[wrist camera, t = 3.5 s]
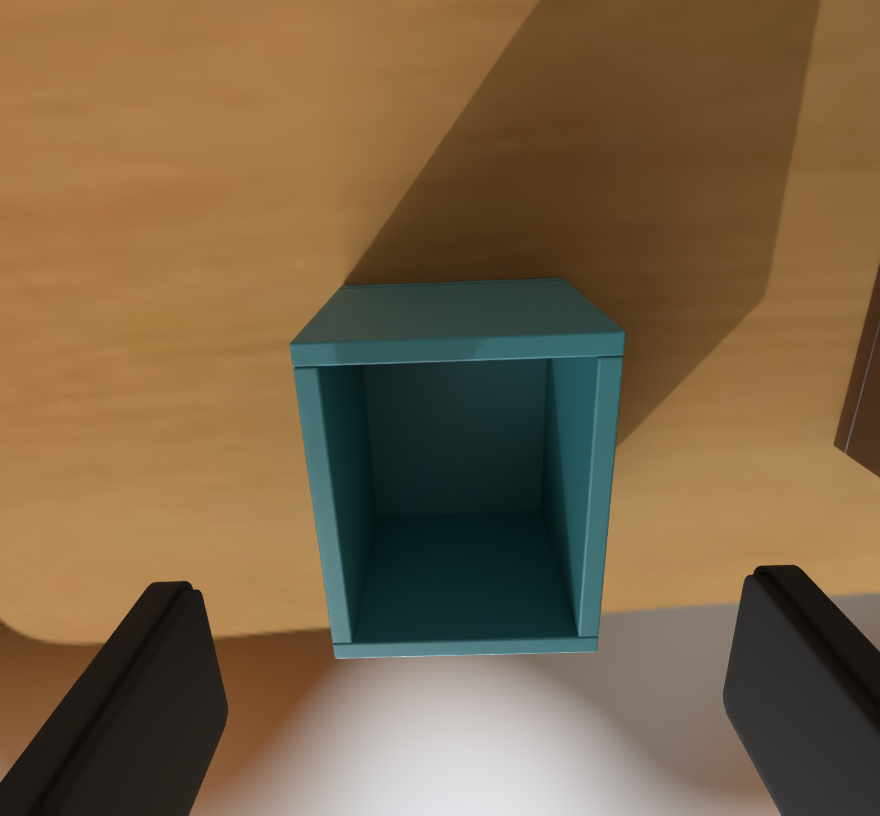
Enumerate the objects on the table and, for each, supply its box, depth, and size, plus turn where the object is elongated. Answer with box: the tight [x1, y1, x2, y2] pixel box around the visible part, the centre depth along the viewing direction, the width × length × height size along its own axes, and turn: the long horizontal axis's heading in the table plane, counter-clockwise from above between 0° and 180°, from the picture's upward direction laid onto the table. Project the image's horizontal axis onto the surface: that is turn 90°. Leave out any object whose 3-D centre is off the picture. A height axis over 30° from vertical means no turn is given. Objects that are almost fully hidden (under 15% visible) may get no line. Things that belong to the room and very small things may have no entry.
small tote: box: [290, 277, 626, 659], centre depth 15 cm, size 8×6×6 cm
